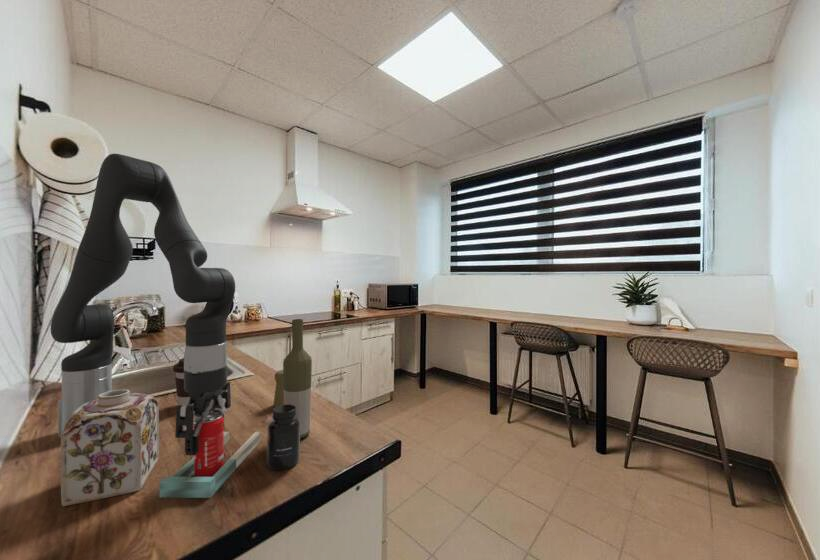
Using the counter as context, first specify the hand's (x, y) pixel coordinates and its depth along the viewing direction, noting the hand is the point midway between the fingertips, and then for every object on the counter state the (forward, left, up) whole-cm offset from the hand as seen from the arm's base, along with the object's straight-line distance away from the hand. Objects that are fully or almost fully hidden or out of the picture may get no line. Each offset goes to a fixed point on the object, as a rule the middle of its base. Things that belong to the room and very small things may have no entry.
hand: (205, 442), depth 67 cm
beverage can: (0, +1, -7) cm, 7 cm away
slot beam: (0, +4, -7) cm, 8 cm away
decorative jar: (-17, -2, -7) cm, 18 cm away
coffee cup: (-26, +35, -7) cm, 44 cm away
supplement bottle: (+14, +5, -7) cm, 17 cm away
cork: (+2, +36, -7) cm, 37 cm away
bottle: (+13, +17, -7) cm, 23 cm away
